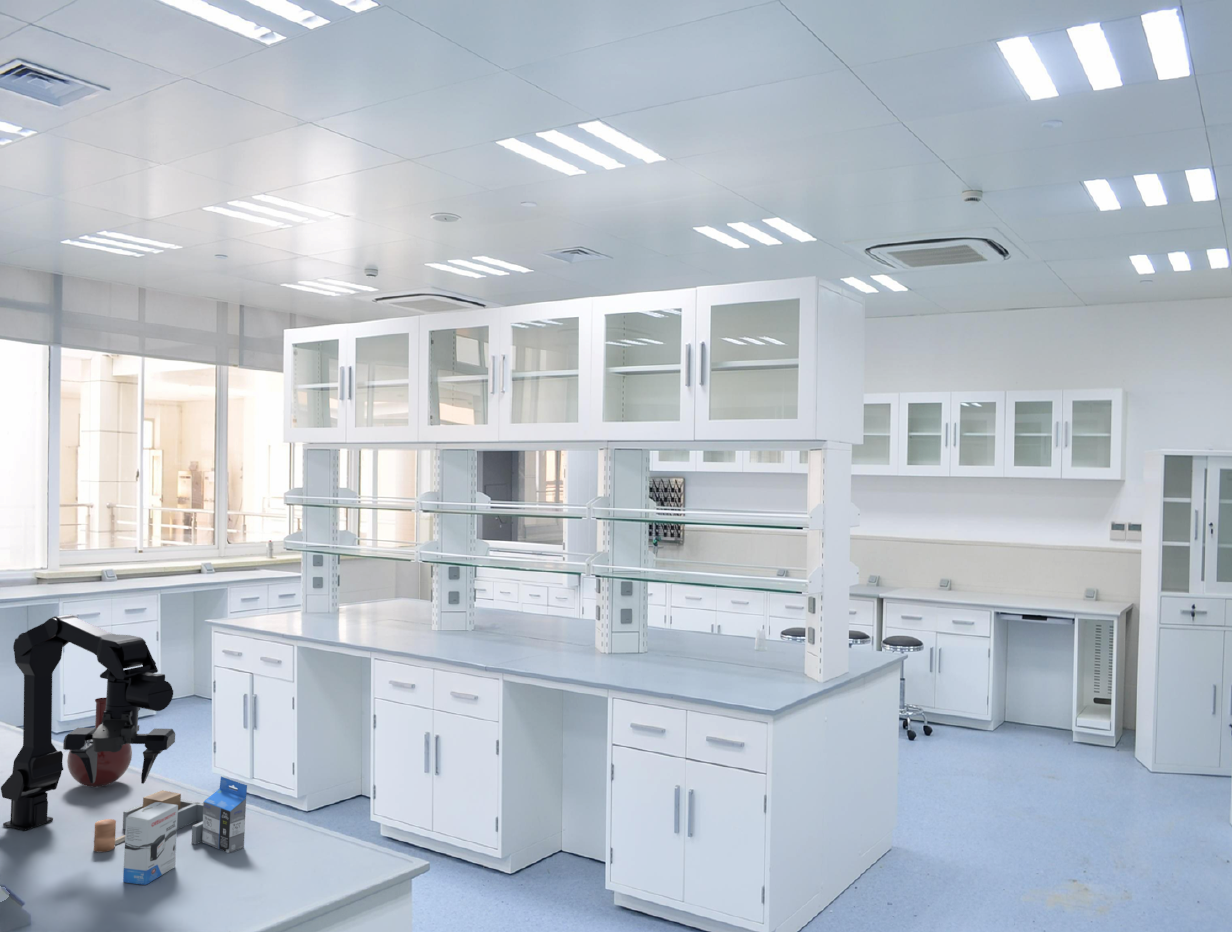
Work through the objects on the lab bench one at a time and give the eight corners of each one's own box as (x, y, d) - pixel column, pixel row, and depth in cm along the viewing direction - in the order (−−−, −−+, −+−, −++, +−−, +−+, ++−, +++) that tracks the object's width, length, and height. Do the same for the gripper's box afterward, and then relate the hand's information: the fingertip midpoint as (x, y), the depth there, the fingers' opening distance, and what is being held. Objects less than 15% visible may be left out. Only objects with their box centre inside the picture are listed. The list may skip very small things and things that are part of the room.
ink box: (145, 885, 167) (148, 819, 167) (121, 882, 168) (124, 816, 168) (177, 866, 175) (179, 803, 175) (153, 863, 176) (156, 800, 176)
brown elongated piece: (86, 849, 181) (88, 818, 181) (161, 818, 198) (162, 790, 198) (106, 853, 180) (107, 822, 180) (179, 822, 197) (180, 793, 197)
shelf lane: (122, 828, 192) (123, 811, 192) (163, 812, 202) (164, 795, 202) (195, 844, 186) (196, 826, 186) (233, 826, 195) (234, 809, 195)
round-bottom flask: (111, 796, 210) (115, 707, 210) (53, 793, 210) (57, 704, 211) (141, 777, 223) (145, 693, 224) (87, 775, 224) (90, 691, 224)
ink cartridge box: (200, 842, 186) (202, 780, 187) (218, 836, 190) (220, 775, 190) (228, 853, 182) (230, 790, 182) (245, 847, 185) (248, 784, 185)
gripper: (52, 713, 174) (48, 797, 173) (159, 714, 176) (155, 797, 176) (77, 698, 185) (73, 777, 184) (178, 699, 187) (173, 777, 187)
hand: (118, 782), depth 183 cm, fingers open, 9 cm apart
